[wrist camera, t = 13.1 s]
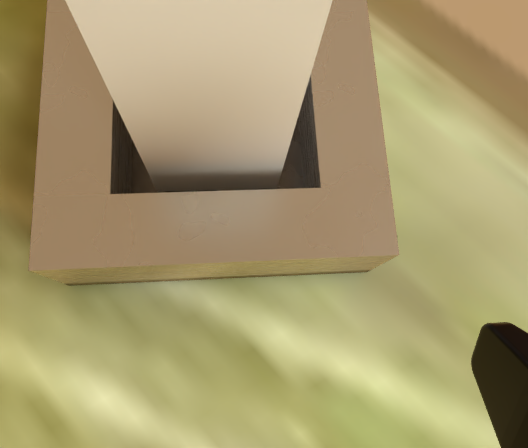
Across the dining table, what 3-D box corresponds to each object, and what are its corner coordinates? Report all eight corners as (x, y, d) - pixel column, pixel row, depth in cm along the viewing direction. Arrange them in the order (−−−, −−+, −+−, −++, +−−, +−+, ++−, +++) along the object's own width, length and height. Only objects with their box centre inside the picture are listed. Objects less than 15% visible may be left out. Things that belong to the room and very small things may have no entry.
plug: (276, 188, 18) (374, -141, 6) (157, 191, 17) (-9, -154, 5) (270, 83, 19) (340, -381, 7) (157, 83, 19) (21, -403, 6)
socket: (367, 271, 18) (399, 254, 14) (69, 285, 17) (28, 270, 13) (339, 22, 20) (361, -42, 17) (81, 23, 20) (50, -45, 16)
